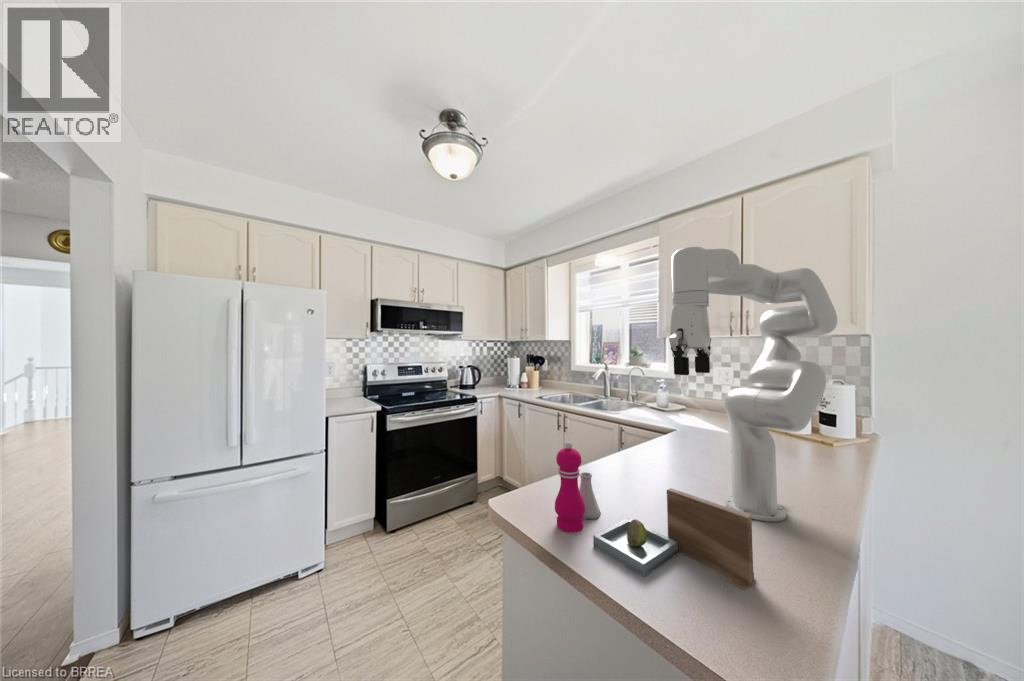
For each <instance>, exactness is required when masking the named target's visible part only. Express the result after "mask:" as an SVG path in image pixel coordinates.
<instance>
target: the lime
mask: <svg viewBox="0 0 1024 681" xmlns="http://www.w3.org/2000/svg"><path fill="white" fill-rule="evenodd" d="M631 520H632V521H631V522H630V524H629V525H628V530H627V541H628V543H629V545H630V546H634V547H639V546H642V545H644V544H645V543H646V540H647V532H646V529H645V527H646V526H645V525H644V523H643V522H641V521H640V520H638V519H631ZM644 526H645V527H644Z"/></svg>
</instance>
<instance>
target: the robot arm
mask: <svg viewBox="0 0 1024 681" xmlns="http://www.w3.org/2000/svg"><path fill="white" fill-rule="evenodd" d="M671 286H672V287H671V288H672V289H671V290H672V309H671V314H670V315H671V316H670V326H669V327H670V330H669V333H670V334H669V335H670V336H669V339H668V341H669V345H670V350H671V352H672V353H671V355H672V358H673V374H674V375H675V376H688V375H690V358H689V356H688V354H689V351H690V349H692V350H693V351H694V352H695V354H696V355H695V356H694V369H695V370H694V372H695V373H700V374H710V373H711V366H710V365H711V364H710V362H711V361H710V359H711V358H710V357H711V344H712V338H711V336H710V332H711V331H710V322H709V321H710V320H709V312H708V307H709V306H710V295H712V294H713V295H724V296H740V297H742V298H744V299H748V300H750V301H754V302H758V303H761V304H762V305H777V304H785V303H793V302H794V303H796V302H804V304H800V305H794V306H793V305H792V306H783V307H778V308H777V307H775V308H772V309H769V310H767V311H765V312H764V313H762V315H761V316H760V318H759V330H760V334H761V339H762V343H763V350H762V352H761V354H760V355H759V357H758V358H757V360H756V361H755V363H754V365H753V366H752V368H751V370H750V371H749V373H748V375H747V376H748V377H747V385H748V386H749V387H737V388H733V389H731V390H730V391H728V392H727V394H726V395H725V399H724V408H725V413H726V417H727V421H728V425H729V433H730V461H731V462H730V463H731V488H732V490H731V492H732V493H731V495H729V496H727V497H726V498H725V505H726V507H728V508H731V509H733V510H736V511H739V512H742V513H745V514H748V515H751V519H753V520H757V521H762V522H781V521H783V520H785V519H786V518H787V517H786V516H787V514H786V513H787V512H786V510H785V509H784V508H783V507H782V506H780V505H779V504H778V485H777V484H778V481H777V480H778V479H777V457H776V456H777V455H776V453H777V451H776V443H775V441H774V438H773V436H772V434H771V433H770V430H768V428H769V429H773V430H780V431H783V432H784V431H785V432H791V433H796V432H800V431H803V430H804V429H805V428H806V427H807V426H808V425H809V423H810V421H811V419H812V417H813V415H814V413H815V412H816V410H817V408H818V406H819V404H820V402H821V400H822V398H823V395H824V393H825V391H826V387H827V377H826V373H825V371H824V369H823V368H822V367H821V366H820V365H819V364H817V363H816V362H812V361H810V360H809V361H807V360H801V358H802V355H801V352H800V350H799V349H798V347H797V346H796V345H795V344H794V343H793V342H791V341H790V340H789V339H788V337H803V336H805V337H806V336H823V335H828V334H830V333H832V332H833V331H834V330H835V329H836V328H837V325H838V315H837V312H836V309H835V306H834V304H833V302H832V300H831V298H830V296H829V293H828V291H827V289H826V287H825V285H824V283H823V282H822V280H821V278H820V276H818V274H817V273H816V272H815V271H814V270H812V269H811V268H808V267H801V268H796V269H791V270H785V271H781V272H774V271H771V270H769V269H767V268H764V267H761V266H759V265H756V264H752V263H743V264H741V262H740V258H739V256H738V255H737V253H735V251H733V250H730V249H727V248H713V249H712V248H711V249H710V248H709V249H708V248H707V249H706V248H703V247H701V246H689V247H683V248H680V249H678V250H675V252H673V254H672V255H671Z"/></svg>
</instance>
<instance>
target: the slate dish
mask: <svg viewBox="0 0 1024 681" xmlns="http://www.w3.org/2000/svg"><path fill="white" fill-rule="evenodd" d="M632 520H633V519H630V518H626V519H623V520H621V521H619V522H617V523H616V524H614V525H612V526H610V527H607V528H605V529H603V530H601V531H599V532H596V533H595V534H593V536H592V537H593V542H592V543H593V548H595V549H597V550H598V551H599V552H601V553H603V554H605V555H606V556H609V558H611V559H613V560H614V561H617V562H618V563H619V564H621V565H623V566H624V567H626V568H628V569H629V570H631V571H633V572H634V573H636V574H638V575H639V576H641V577H643V578H645V577H647V576H649V575H650V574H651V573H652V572H654V571H656V570H657V569H659V567H661V566H663V565H664V564H666V563H667V562H669V561H670V560H672V559H673V558H674V557H676V556H677V555H678V554H677V553H678V552H677V551H678V550H677V549H678V542H677V541H675V540H673V539H670V538H668V536H666V535H664V534H662V533H660V532H658V531H655V530H653V529H651V528H649V527H646V526H645V525H644V527H645V529H646V532H647V540H646V543H645V544H644V545H642V546H639V547H634V546H630V545H629V543H628V541H627V530H628V525H629V524H630V522H631V521H632ZM675 551H676V554H677V555H676V554H675Z"/></svg>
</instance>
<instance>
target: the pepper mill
mask: <svg viewBox="0 0 1024 681" xmlns="http://www.w3.org/2000/svg"><path fill="white" fill-rule="evenodd" d="M556 464H557V466H558V476H559V478H560V487H559V490H558V493H557V496H556V498H555V501H554V511H555V513H556V515H557V516H556V526H557V528H558V529H559V530H560V531H562V532H565V533H572V534H573V533H579V532H580V531H583V529H584V518H582V516H583V515H584V513H585V504H584V501H583V498H582V496H581V494H580V491H579V489H580V486H579V483H578V482H579V481H578V480H579V478H580V471H581V470H580V469H579V468H580V466H581V465H582V456H581V453H580V452H579V451H578V450H577V449H575V448H573V443H572V442H571V441H567V442H565V443H564V448H561V449H560V450H559V451H558V452H557V454H556Z"/></svg>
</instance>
